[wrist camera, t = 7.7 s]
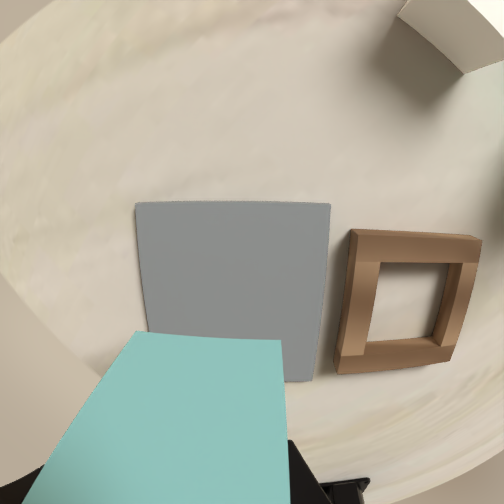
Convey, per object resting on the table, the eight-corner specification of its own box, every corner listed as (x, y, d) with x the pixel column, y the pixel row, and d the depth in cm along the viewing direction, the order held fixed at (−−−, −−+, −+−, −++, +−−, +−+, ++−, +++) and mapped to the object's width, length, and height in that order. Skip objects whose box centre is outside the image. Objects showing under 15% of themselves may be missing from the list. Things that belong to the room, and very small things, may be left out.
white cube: (481, 31, 12) (527, 9, 6) (463, 74, 13) (518, 56, 7) (422, -22, 11) (458, -58, 5) (395, 15, 12) (436, -26, 7)
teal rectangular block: (273, 434, 11) (271, 605, 3) (159, 423, 11) (104, 575, 3) (281, 340, 9) (291, 599, 2) (136, 330, 10) (12, 520, 2)
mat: (311, 376, 19) (311, 381, 19) (159, 369, 20) (157, 373, 19) (328, 203, 16) (330, 204, 16) (138, 202, 16) (135, 203, 16)
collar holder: (441, 350, 19) (449, 361, 17) (333, 360, 19) (337, 374, 17) (469, 235, 16) (482, 240, 15) (350, 229, 16) (358, 234, 15)
